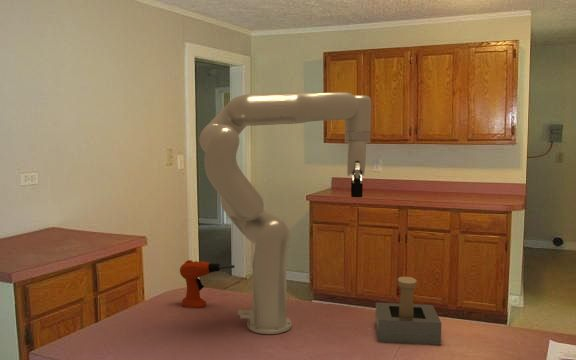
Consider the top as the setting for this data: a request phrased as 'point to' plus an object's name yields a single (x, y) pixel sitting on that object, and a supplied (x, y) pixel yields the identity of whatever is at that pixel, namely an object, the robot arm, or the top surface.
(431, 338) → the socket block
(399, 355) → the top surface
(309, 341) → the top surface
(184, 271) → the toy drill
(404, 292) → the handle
